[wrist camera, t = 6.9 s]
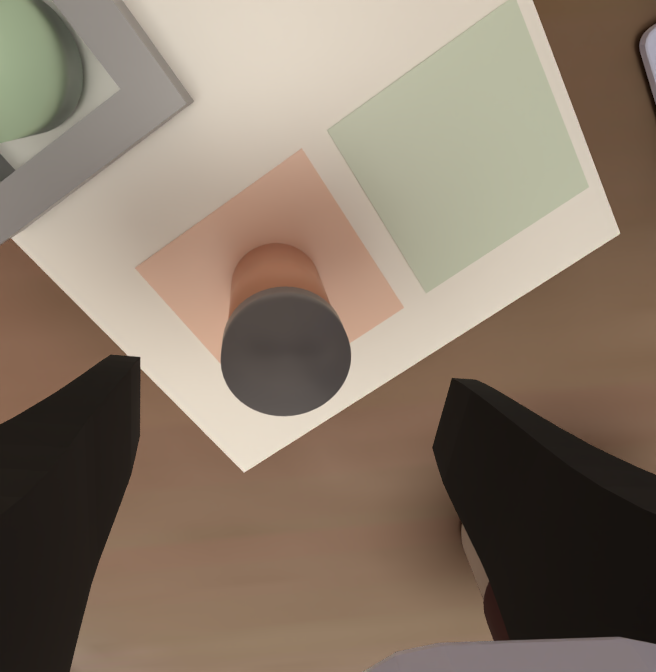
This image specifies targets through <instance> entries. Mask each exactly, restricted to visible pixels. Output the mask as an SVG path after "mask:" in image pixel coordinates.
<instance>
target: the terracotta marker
mask: <svg viewBox="0 0 656 672" xmlns="http://www.w3.org/2000/svg"><path fill="white" fill-rule="evenodd" d="M350 364H351V348H350V343H349V340H348V337H347V334H346V332H345V329H344V327H343V324H342V322H341V320H340V318H339V316H338V314H337V313H336V311H335V310H334V308H333V307H332V306H331V304H330V301H329V299H328V296H327V294H326V291H325V289H324V286H323V284H322V281H321V279H320V276H319V273H318V271H317V269H316V267H315V265H314V263H313V262H312V260H311V259H310V258H309V257H308V256H307V255H306V254H305V253H304V252H302V251H301V250H299V249H297V248H295V247H293V246H290V245H287V244H281V243H270V244H265V245H262V246H259V247H257V248H254V249H253V250H251V251H250V252H248V253H247V254H246V255H245V256H244V257H243V258H242V259H241V260H240V261H239V263H238V264H237V266H236V268H235V270H234V273H233V277H232V284H231V295H230V305H229V316H228V321H227V323H226V326H225V329H224V333H223V339H222V348H221V370H222V374H223V377H224V380H225V382H226V384H227V386H228V388H229V389H230V391H231V392H232V393H233V394H234V396H235V397H236V398H237V399H238V400H239V401H241V402H242V403H243V404H245V405H246V406H248V407H249V408H251V409H253V410H255V411H258V412H260V413H264V414H267V415H273V416H295V415H300V414H304V413H307V412H310V411H312V410H314V409H317V408H318V407H320V406H322V405H324V404H325V403H326V402H328V401H329V400H330V399H331V398H332V397H333V396H334V395H335V394H336V393H337V392H338V391H339V390H340V388H341V387H342V385H343V384H344V382H345V380H346V378H347V375H348V372H349V369H350Z"/></svg>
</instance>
